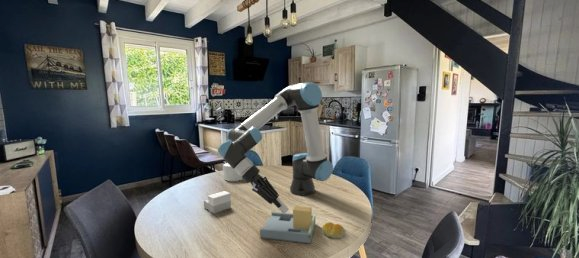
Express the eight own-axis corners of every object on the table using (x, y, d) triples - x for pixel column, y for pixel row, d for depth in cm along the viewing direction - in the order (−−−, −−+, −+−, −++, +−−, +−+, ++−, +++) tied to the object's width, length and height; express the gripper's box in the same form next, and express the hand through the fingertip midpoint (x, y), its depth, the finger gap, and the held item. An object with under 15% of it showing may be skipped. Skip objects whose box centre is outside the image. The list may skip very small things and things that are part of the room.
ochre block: (293, 227, 99) (292, 209, 99) (295, 222, 103) (295, 205, 103) (310, 229, 98) (310, 211, 97) (311, 224, 102) (311, 207, 101)
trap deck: (260, 238, 96) (260, 227, 96) (272, 219, 112) (271, 210, 111) (310, 244, 92) (310, 232, 91) (315, 223, 107) (315, 214, 107)
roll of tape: (228, 174, 184) (228, 161, 183) (248, 175, 183) (248, 161, 181) (220, 181, 169) (220, 166, 168) (242, 181, 167) (242, 166, 166)
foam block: (220, 203, 133) (220, 188, 132) (231, 208, 125) (230, 193, 125) (204, 208, 126) (203, 192, 125) (213, 214, 119) (213, 198, 118)
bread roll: (326, 226, 105) (326, 217, 105) (346, 232, 101) (346, 223, 100) (318, 235, 98) (318, 225, 98) (339, 241, 94) (339, 231, 93)
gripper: (247, 172, 110) (283, 210, 109) (235, 181, 98) (276, 224, 96) (258, 161, 109) (295, 199, 107) (247, 168, 96) (289, 212, 94)
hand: (286, 211), depth 102 cm, fingers closed
